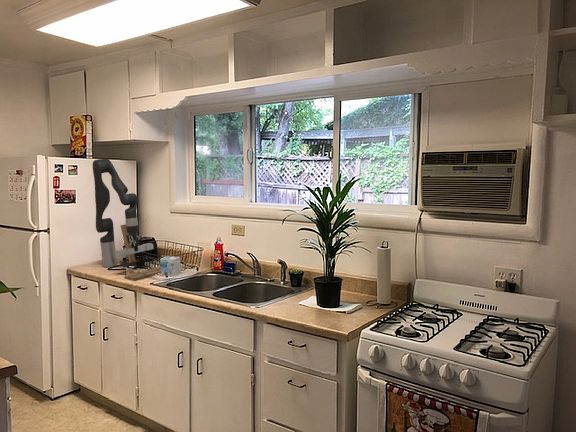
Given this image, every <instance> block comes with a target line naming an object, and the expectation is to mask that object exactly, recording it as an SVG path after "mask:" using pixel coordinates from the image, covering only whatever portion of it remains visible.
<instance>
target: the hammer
mask: <svg viewBox="0 0 576 432" xmlns="http://www.w3.org/2000/svg"><path fill="white" fill-rule="evenodd" d="M120 229H121V234H122V238H123V242H124V246H125V249H127V248H131V245H130V244H129V243H128V240H127V238H126V235H128V233H127V231H126V223H124V224H121V225H120ZM127 258H128V261H127V259H124V260H121V261H119V264H120V265H121V267H122V268H124V267H127V266H135V267H139V268H142V267H145V265H146V262H145V261H144V260H137V259H136V258H135V253H134V254H130V255H127Z"/></svg>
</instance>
